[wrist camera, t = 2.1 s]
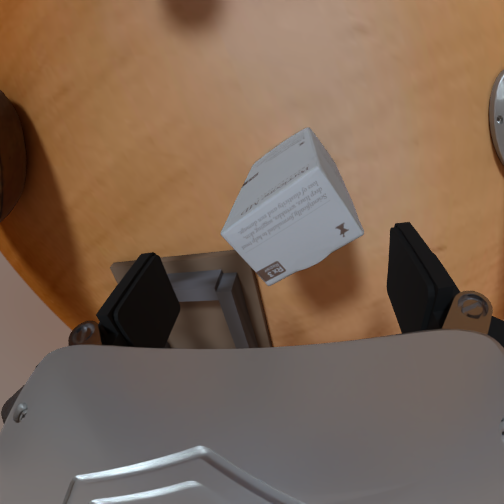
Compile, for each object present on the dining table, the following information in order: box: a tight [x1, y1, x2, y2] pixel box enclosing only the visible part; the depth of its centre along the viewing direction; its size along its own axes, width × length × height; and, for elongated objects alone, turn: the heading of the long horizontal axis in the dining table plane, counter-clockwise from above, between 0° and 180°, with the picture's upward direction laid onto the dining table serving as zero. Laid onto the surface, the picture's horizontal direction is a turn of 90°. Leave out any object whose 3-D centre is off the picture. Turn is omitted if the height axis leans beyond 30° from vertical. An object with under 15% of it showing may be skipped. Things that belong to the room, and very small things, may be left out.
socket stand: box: [110, 250, 272, 349], centre depth 33 cm, size 17×17×4 cm
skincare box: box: [221, 127, 364, 286], centre depth 18 cm, size 6×4×12 cm
